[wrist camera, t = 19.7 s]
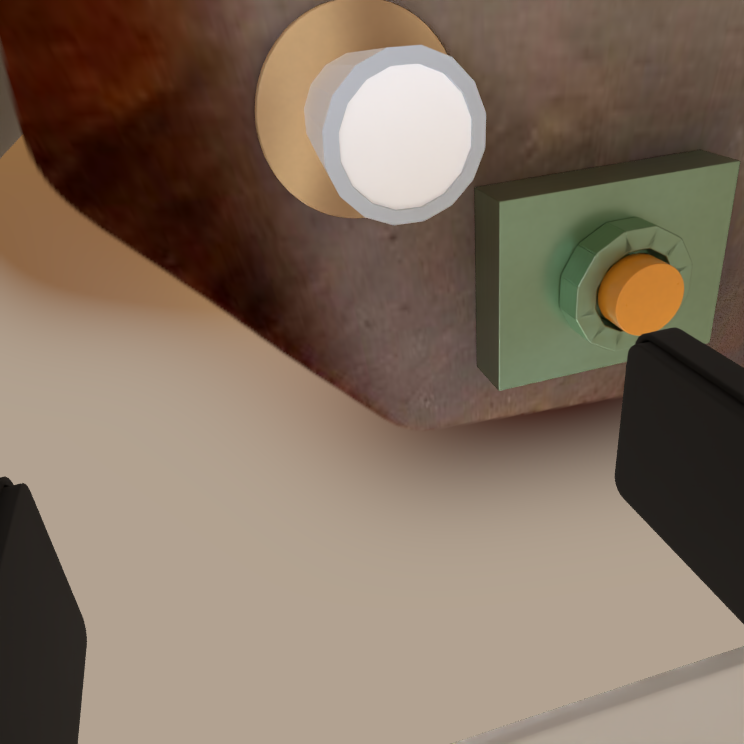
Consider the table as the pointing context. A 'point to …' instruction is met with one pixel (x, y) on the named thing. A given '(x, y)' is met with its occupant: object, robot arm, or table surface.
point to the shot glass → (397, 130)
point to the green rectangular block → (592, 258)
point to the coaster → (299, 69)
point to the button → (640, 293)
